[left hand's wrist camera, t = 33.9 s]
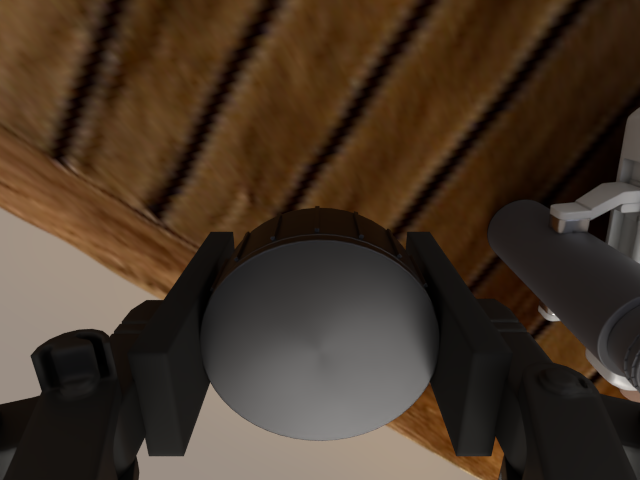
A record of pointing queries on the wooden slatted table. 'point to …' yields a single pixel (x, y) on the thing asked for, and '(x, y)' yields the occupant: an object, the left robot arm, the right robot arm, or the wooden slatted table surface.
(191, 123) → the wooden slatted table surface
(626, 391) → the anatomical model
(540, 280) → the jar
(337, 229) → the lid
